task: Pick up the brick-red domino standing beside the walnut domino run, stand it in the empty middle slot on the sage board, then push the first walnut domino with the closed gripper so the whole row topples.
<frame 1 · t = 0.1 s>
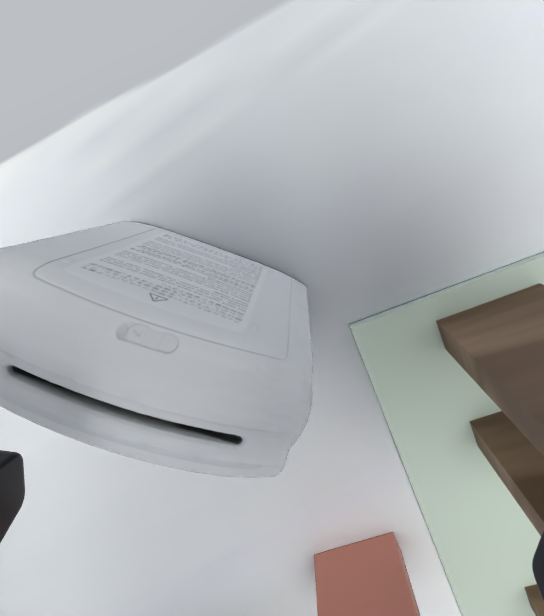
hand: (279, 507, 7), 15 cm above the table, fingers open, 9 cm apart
red domino: (357, 553, 26), on the table
domino 4: (521, 418, 22), resting on sage board
sage board: (542, 501, 24), on the table
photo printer: (208, 283, 21), on the table
domino 5: (491, 317, 21), resting on sage board
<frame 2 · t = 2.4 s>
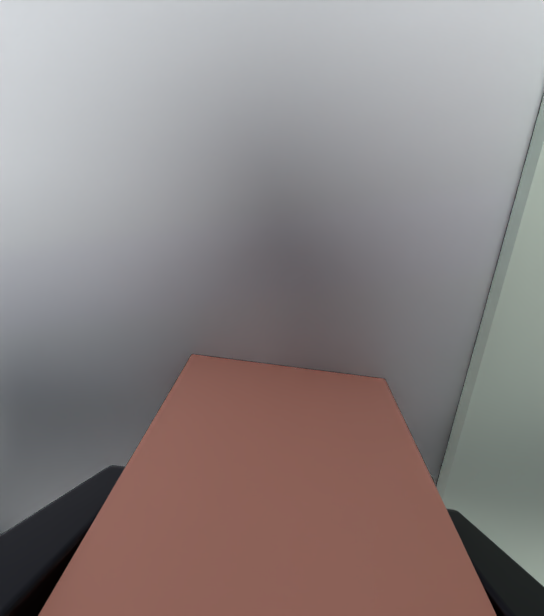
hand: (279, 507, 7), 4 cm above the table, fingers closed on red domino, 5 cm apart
red domino: (284, 394, 11), on the table, touching gripper
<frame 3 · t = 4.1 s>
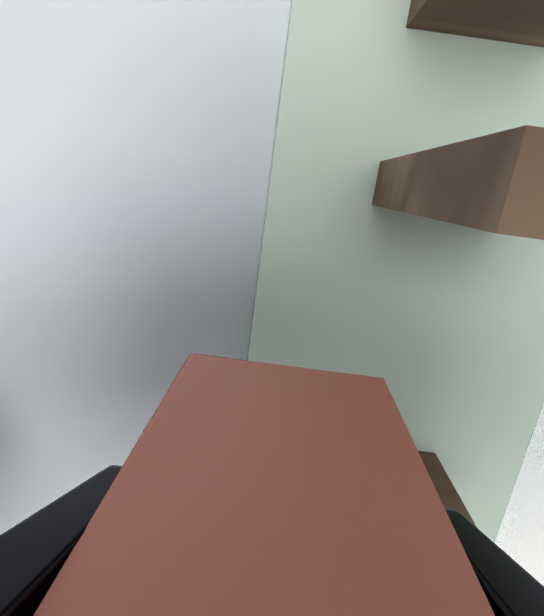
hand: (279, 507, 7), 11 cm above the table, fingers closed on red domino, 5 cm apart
red domino: (282, 393, 11), point 7 cm above the table, touching gripper
domino 4: (440, 192, 16), resting on sage board
sage board: (402, 335, 18), on the table
domino 2: (377, 460, 19), resting on sage board
domino 5: (483, 11, 14), resting on sage board
when the fingers open (6 cm above the table, at t = 5.9 s): red domino stays where it is, resting on sage board.
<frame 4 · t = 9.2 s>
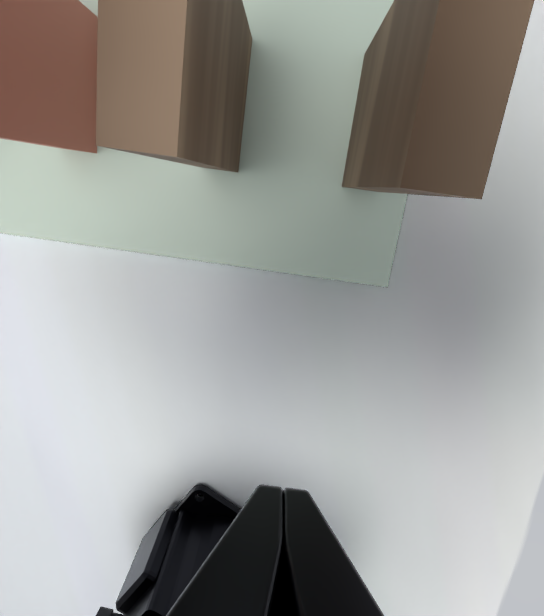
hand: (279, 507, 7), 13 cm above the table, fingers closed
red domino: (78, 86, 17), resting on sage board
sage board: (85, 88, 18), on the table
domino 1: (372, 125, 17), resting on sage board
domino 2: (225, 105, 17), resting on sage board
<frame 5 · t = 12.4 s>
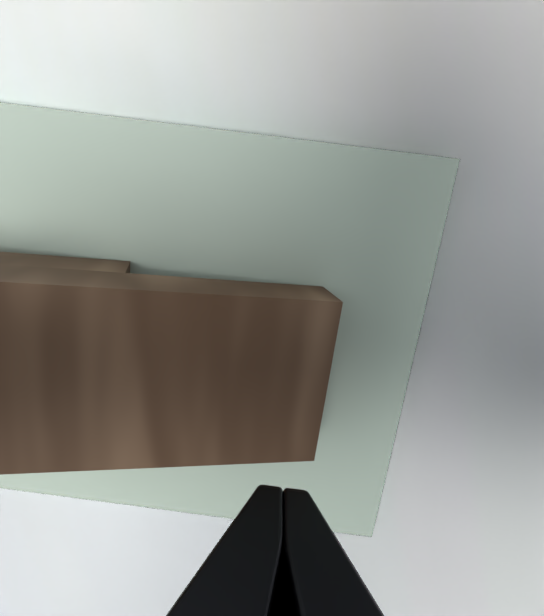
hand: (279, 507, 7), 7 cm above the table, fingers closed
domino 1: (318, 373, 13), point 1 cm above the table, tilted 74°, touching domino 2, sage board
domino 2: (125, 347, 13), point 1 cm above the table, tilted 74°, touching domino 1, red domino, sage board
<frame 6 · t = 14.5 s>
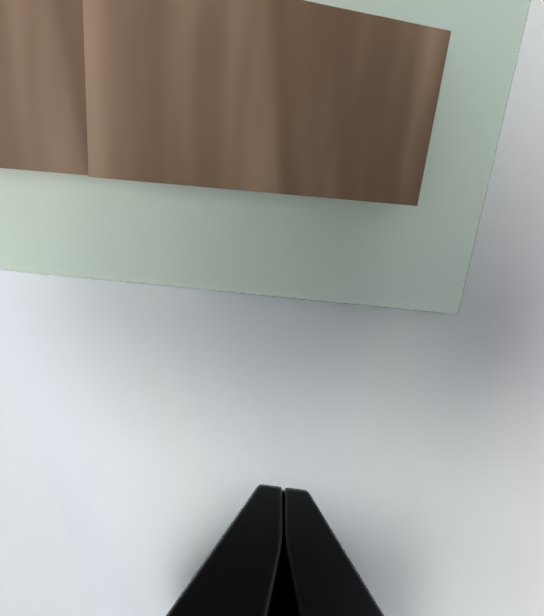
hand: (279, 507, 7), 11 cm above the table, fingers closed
sage board: (102, 101, 15), on the table
domino 1: (419, 125, 14), point 1 cm above the table, tilted 74°, touching domino 2, sage board
domino 2: (241, 108, 14), point 1 cm above the table, tilted 74°, touching domino 1, red domino, sage board
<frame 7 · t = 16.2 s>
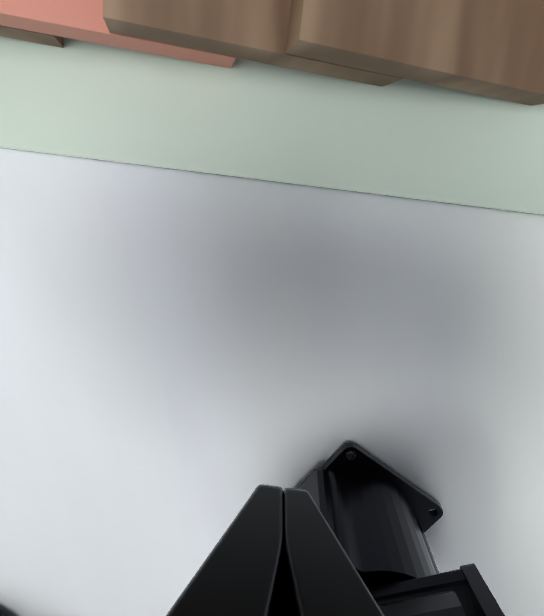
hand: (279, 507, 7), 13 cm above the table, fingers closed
sage board: (264, 2, 16), on the table
domino 2: (406, 5, 15), point 1 cm above the table, tilted 74°, touching domino 1, red domino, sage board
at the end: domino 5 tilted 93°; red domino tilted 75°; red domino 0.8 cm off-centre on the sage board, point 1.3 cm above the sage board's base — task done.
